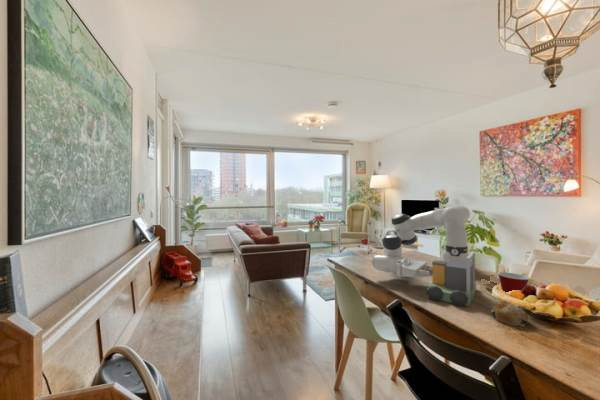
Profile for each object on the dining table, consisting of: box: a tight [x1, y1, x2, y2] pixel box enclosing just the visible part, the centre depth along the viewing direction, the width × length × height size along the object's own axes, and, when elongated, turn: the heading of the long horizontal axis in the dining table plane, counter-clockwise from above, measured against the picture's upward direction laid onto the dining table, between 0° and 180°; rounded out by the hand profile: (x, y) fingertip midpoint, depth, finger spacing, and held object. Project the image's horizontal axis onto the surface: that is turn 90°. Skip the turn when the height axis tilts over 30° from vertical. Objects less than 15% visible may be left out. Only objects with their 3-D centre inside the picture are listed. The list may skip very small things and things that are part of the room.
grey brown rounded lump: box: [490, 302, 529, 328], centre depth 97 cm, size 10×10×8 cm
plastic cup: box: [497, 271, 531, 292], centre depth 113 cm, size 11×11×12 cm
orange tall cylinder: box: [431, 259, 447, 286], centre depth 127 cm, size 5×5×14 cm
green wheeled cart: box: [426, 250, 477, 307], centre depth 124 cm, size 28×16×19 cm, turn 141°
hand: (432, 271), depth 129 cm, fingers open, 8 cm apart
